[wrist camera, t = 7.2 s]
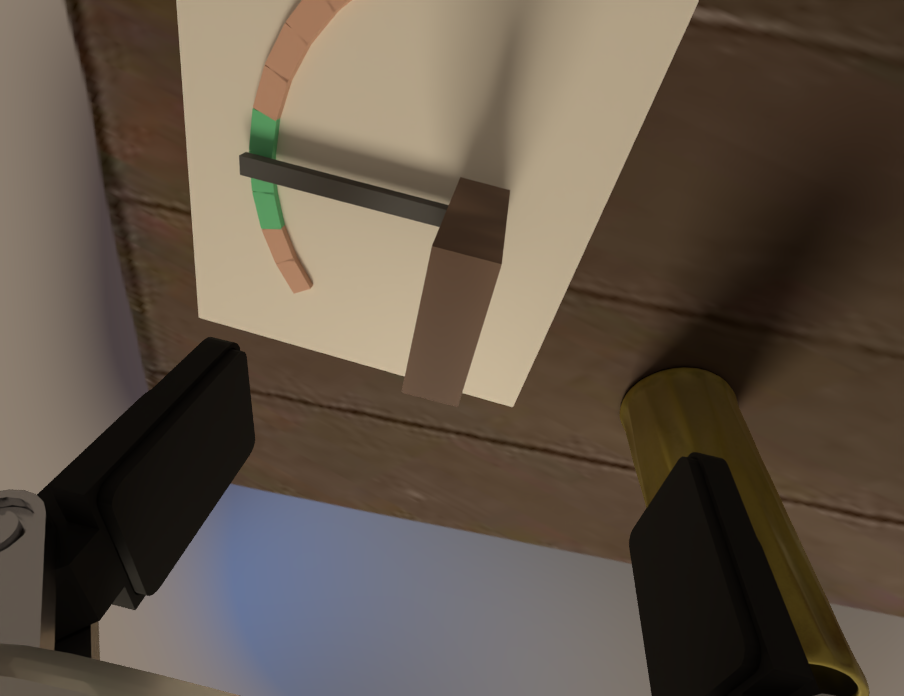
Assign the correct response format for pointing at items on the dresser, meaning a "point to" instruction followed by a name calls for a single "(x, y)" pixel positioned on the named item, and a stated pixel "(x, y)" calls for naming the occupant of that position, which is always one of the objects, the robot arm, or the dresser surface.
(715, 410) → the vase
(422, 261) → the board
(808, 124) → the dresser surface
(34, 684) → the robot arm
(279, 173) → the tuner needle gauge
